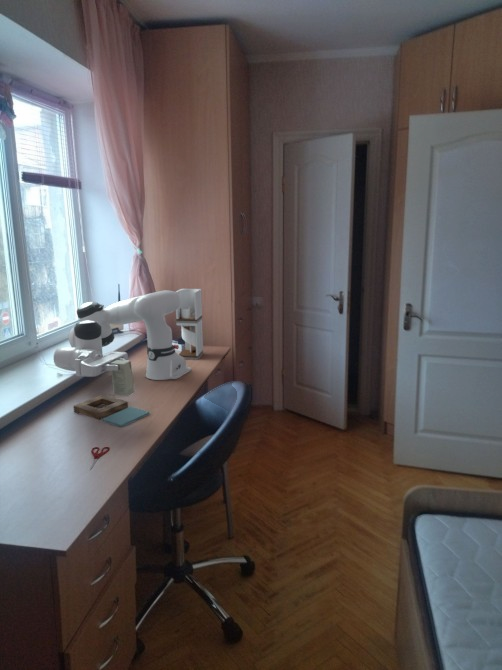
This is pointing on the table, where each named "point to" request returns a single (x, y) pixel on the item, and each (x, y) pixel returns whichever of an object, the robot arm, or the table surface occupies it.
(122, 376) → the skincare box
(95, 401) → the pocket holder
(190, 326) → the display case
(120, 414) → the teal mat
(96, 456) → the scissors
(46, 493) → the table surface
